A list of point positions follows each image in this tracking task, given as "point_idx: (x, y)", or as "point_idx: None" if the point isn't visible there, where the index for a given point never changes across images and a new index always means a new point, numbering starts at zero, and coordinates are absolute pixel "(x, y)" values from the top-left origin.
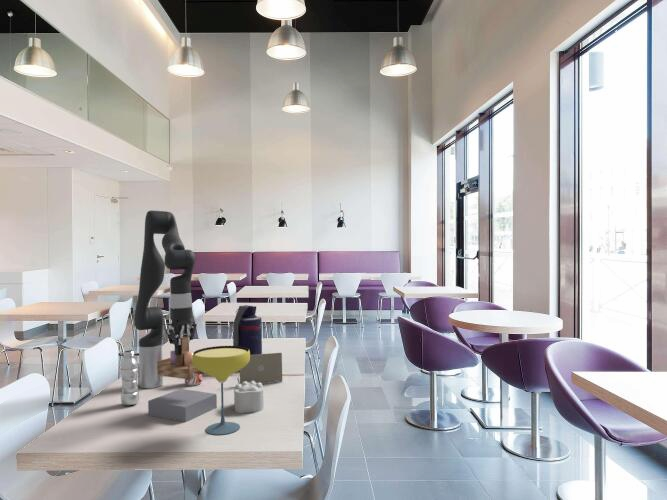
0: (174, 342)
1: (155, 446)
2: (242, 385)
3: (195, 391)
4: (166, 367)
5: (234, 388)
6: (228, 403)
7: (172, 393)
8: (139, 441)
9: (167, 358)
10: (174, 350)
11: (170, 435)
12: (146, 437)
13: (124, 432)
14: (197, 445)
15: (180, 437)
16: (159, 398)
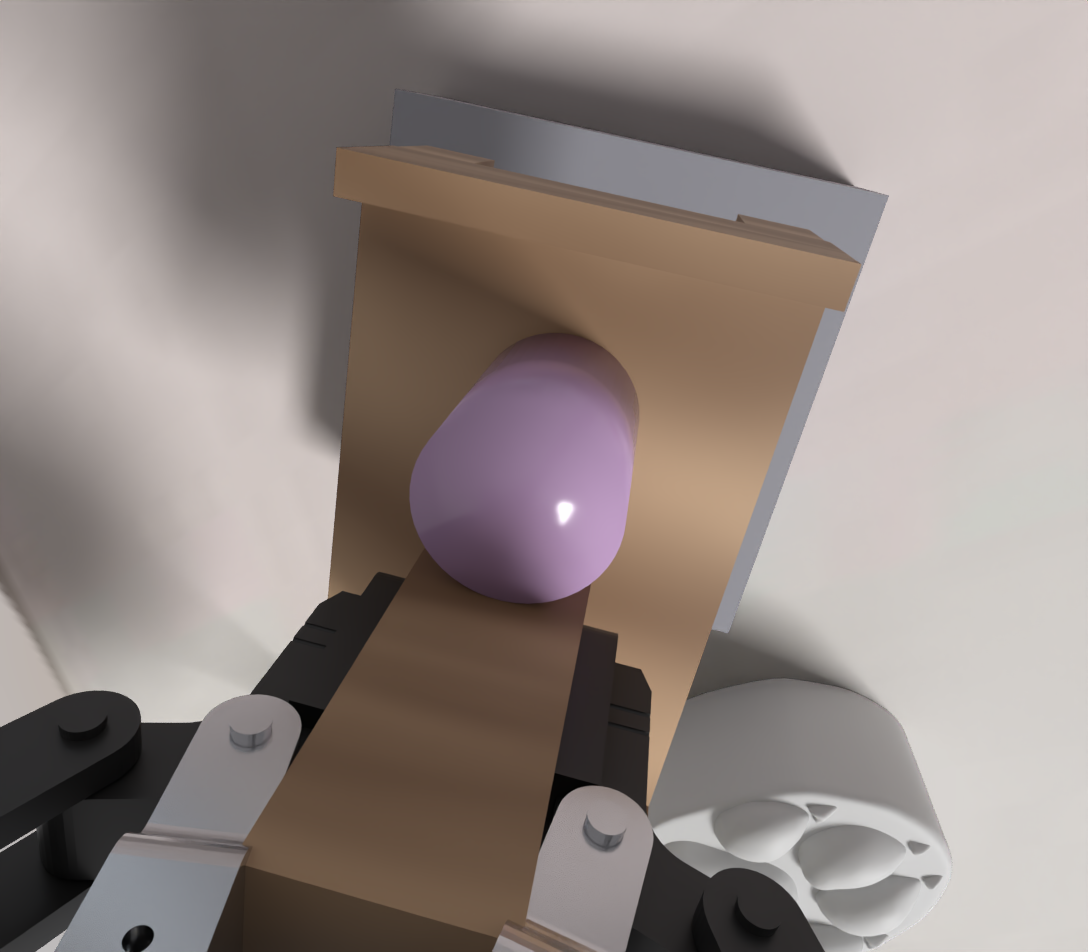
0: (37, 852)
1: (26, 499)
2: (807, 849)
3: (788, 419)
4: (351, 364)
5: (747, 797)
6: (835, 616)
7: (687, 207)
8: (28, 370)
9: (621, 213)
10: (580, 455)
11: (174, 502)
12: (89, 376)
13: (81, 161)
14: (133, 688)
15: (175, 569)
16: (498, 165)
